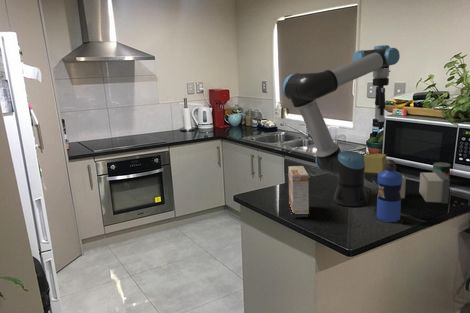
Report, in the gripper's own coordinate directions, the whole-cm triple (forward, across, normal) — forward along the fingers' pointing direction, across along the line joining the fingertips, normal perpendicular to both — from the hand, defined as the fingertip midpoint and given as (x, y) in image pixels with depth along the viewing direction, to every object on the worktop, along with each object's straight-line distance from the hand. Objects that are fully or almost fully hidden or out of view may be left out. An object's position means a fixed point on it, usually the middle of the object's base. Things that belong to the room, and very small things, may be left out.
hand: (379, 119), depth 189 cm
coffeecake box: (+35, -44, +38) cm, 68 cm away
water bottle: (+35, -47, +1) cm, 59 cm away
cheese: (+35, +27, -2) cm, 44 cm away
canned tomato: (+35, +2, -31) cm, 47 cm away
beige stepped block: (+35, -18, -23) cm, 45 cm away
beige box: (+35, -18, -5) cm, 39 cm away
